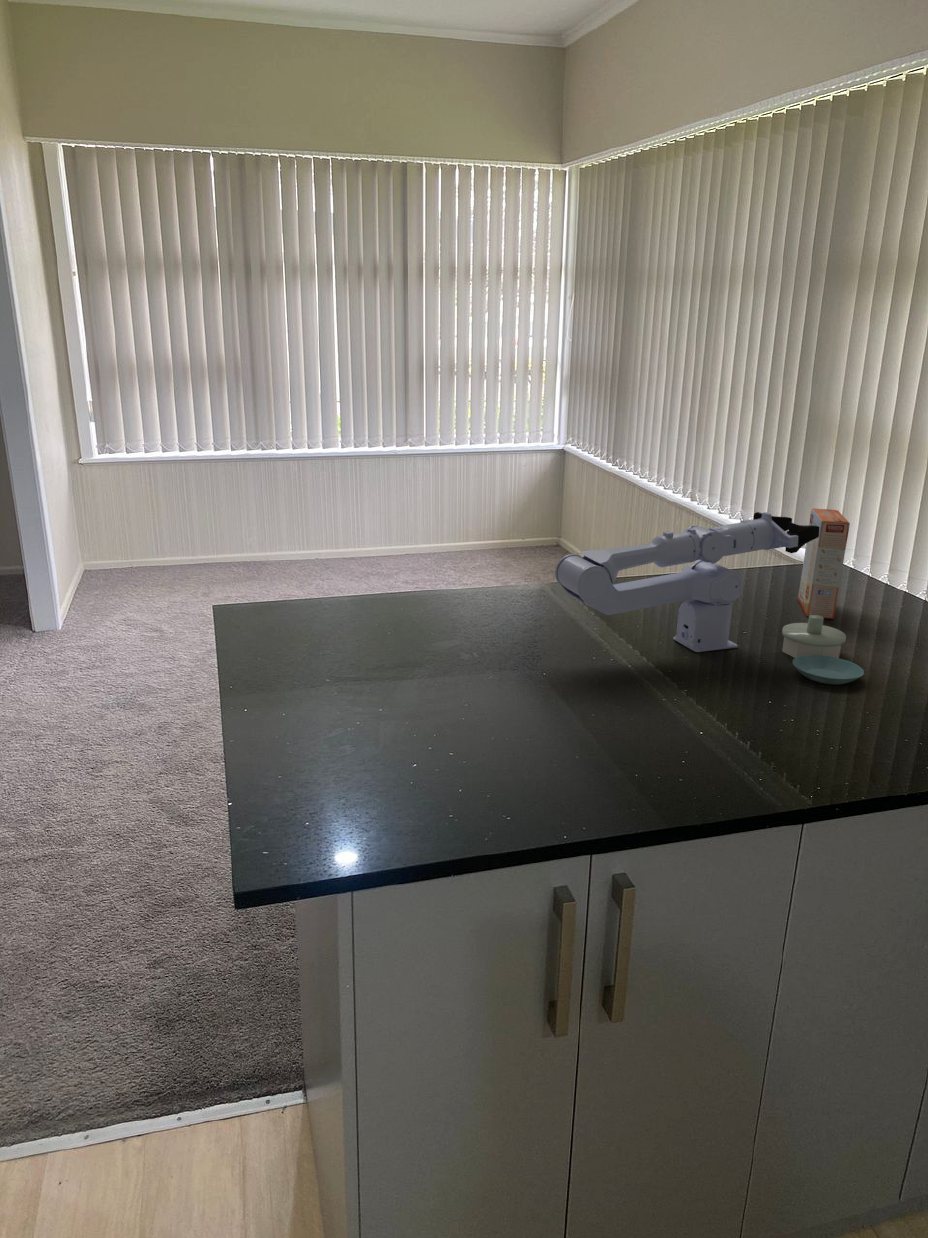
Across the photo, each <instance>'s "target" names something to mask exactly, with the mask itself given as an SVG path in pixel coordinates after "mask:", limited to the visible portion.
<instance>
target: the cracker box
mask: <svg viewBox="0 0 928 1238" xmlns="http://www.w3.org/2000/svg"><path fill="white" fill-rule="evenodd" d="M809 517H810V518H809V523H808V525H814V526H818V527H820V528H819V537H818V538H816V539H814V540H812V541H810V542H808V543H806V544H805V550H804V556H803V562H802V563H803V565H802V569H801V574H800V575H801V576H800V583H799V589H798V595H797V600H798V601H799V603H800V605H801V608H802V610H803V611H804V613H805V616H806V617H808V618H809V616H810V615H819V616H822V617H823V618H824V619H827V620H834V619H835V614H836V609H837V602H838V596H839V590H840V584H841V578H842V572H843V567H844V566H843V565H844V560H845V555H846V554H845V553H846V547H847V544H848V539H849V538H848V537H849V533H850V532H849V531H850V525H851V523H850V522H849V520H848V519H846V518H845V517H844V515H843V514H842V513H841V512H840V511H839V510H838V509H831V508H811V510H810V515H809Z"/></svg>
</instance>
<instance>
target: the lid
mask: <svg viewBox="0 0 928 1238" xmlns="http://www.w3.org/2000/svg"><path fill="white" fill-rule="evenodd" d="M824 619H825V618H823V617H822V616H819V615H810V616H809V617H808V621H807V622H794V623H788V624H785V625H784V626H783V627H782V632H781V634H782V636H783V637H784V636H785V637H786V638H788V639H790V640H792V641H795V642H798V643H802V644H806V645H812V646H823V647H830V646H838V645H841V646H842V645H844V644H845V643H846V639H847V635H846V634H845V632H843V631H841V629H840V630H839V629H838V628H835V627H832V626H829V625H825V624H824Z"/></svg>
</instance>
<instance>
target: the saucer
mask: <svg viewBox="0 0 928 1238" xmlns="http://www.w3.org/2000/svg"><path fill="white" fill-rule="evenodd" d="M792 665H793V666H794V668H795V669H796V670H797V671H798V672H799V673H800V674H801V675H803V677H806V678H807V679H809V680H810V681H813V682H816V683H819V684H823V683H824V685H831V686H835V685H836V686H837V685H840V686H841V685H845V684H848V683H852V682H854V681H856V680H858V679H859V678H861V677H862V676H864V674H865V671H864V669H863V667H861V666H859V665H858V664H856V663H854V662H852V661H850V660H846V659H843V658H840V657H839V658H835V657H830V656H822V655H805V656H799V657H797V658H793V659H792Z"/></svg>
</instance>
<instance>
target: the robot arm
mask: <svg viewBox="0 0 928 1238" xmlns="http://www.w3.org/2000/svg"><path fill="white" fill-rule="evenodd" d="M819 528H820V527H818V526H814V525H809V524H808V525H806V524H805V525H804V524H802V525H800V524H797V523H795V522H793V518H792V517H787V516H777V515H775V516H774V515H772V514H771V513H769V512H760V511H755V513H754V514H753V519H743V520H741V521H740V522H736V523H729V524H725V525H720V526H714V527H708V528H705V527H703V526H698V525H690V526H689V527H687V528H686V529H685V530H684V531H683V532H677V533H675V532H672V531H671V530H667V531H663V532H662V535H658V536H655V537H653V538H652V541H651V542H650V543H649V544H640V545H632V546H623V547H621V546H620V547H613V548H604V549H591V550H584V551H583V550H582V551H580V552H579V554H577V553H569V554H567V555H564V556H563V557H561V559H559V561H557V564H556V567H555V570H554V577H555V579H556V581H557V583H558V584H559V586H560V587H561V588H562V590H564V592H566V593H567V594H568V595H570V596H571V597H574V598H575V599H577V600H579V601H580V602H582V604H583V603H584V604H585V605H587V606H588V607H591V608H592V609H595V610H596V611H598V612H600V613H602V614H604V615H606V616H610V615H615V614H622V613H627V612H631V611H632V612H633V611H636V610H637V611H638V610H643V609H647V608H653V607H658V606H663V605H668V604H674V603H678V602H682V603H681V604H680V606H679V608H678V612H677V619H676V621H677V622H676V623H677V624H676V629H675V630H676V633H675V636H673V638H672V639H673V640H674V641H676V642H678V643H679V644H681V645H682V646H684V647H686V648H688V649H689V650H691V651H693V652H695V653H702V652H709V651H710V652H711V651H717V650H718V651H720V650H726V649H736V648H738V644H737V643H735V642H733V641H731V640H729V638H730V628H731V620H732V611H733V605H734V604H735V603H736V600H737V599H738V598H739V597H740V596H741V594H742V592H743V589H744V582H745V581H744V578H743V575H742V574H741V573H740V572H738V571H737V570H735V569H730V568H727V567H725V566H723V565H720V564H718V562H719V561H720V560H721V559H722V558H723V557H728V556H734V555H739V554H740V555H741V554H745V553H751V552H758V551H762V550H765V551H768V550H774V549H780V548H784V549H785V552H787V553H789V554H795V553H798V551H799V550H800V549H801V548H802V547H804V545H805V546H806V543H808V542H810V541H812V540H814V539H816V538H818V537H819ZM581 555H582V556H581ZM653 563H654V564H655V565H656V566H657V567H659V568H666V567H674V566H677V565H685V564H688V563H693V564H691V565H689V566H684V567H683V568H682V570H681V572H676V573H675V572H674V573H671V574H665V575H660V576H653V577H649V578H647V577H646V578H642V579H637V580H632V581H626V582H621V583H615V582H616V579H617V577H618V574H619V572H620V571H623V570H627V569H632V568H635V567H640V566H644V565H648V564H653Z"/></svg>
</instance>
